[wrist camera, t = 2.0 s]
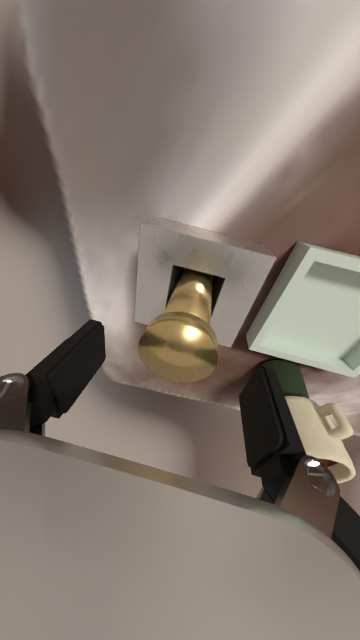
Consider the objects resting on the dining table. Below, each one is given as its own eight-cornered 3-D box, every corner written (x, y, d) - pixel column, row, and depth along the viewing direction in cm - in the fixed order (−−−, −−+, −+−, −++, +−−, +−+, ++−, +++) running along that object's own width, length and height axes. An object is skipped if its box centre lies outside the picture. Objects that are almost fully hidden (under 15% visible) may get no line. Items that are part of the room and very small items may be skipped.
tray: (297, 241, 18) (310, 247, 16) (434, 275, 18) (470, 286, 15) (245, 335, 25) (248, 349, 23) (341, 360, 25) (354, 377, 23)
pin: (184, 250, 20) (141, 313, 9) (222, 260, 20) (230, 337, 9) (176, 286, 23) (136, 371, 11) (210, 295, 23) (204, 390, 11)
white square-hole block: (159, 217, 19) (139, 223, 14) (260, 243, 19) (276, 257, 14) (150, 297, 25) (134, 321, 20) (227, 318, 24) (230, 347, 19)
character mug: (270, 394, 32) (297, 492, 21) (236, 378, 31) (247, 471, 20) (324, 359, 25) (401, 472, 15) (284, 338, 25) (335, 441, 14)
